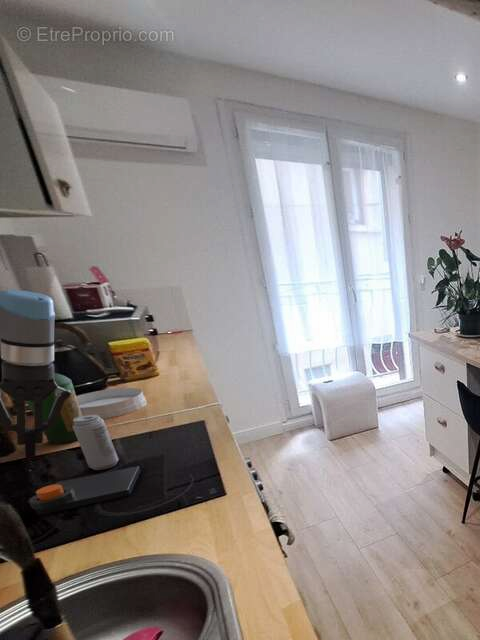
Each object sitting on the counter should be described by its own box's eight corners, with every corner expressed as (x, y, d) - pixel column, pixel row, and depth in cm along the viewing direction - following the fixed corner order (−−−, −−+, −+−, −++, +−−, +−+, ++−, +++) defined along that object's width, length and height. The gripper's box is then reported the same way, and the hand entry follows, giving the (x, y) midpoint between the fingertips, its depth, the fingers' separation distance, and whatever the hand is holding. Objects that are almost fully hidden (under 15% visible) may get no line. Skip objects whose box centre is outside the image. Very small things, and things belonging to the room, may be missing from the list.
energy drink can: (101, 461, 119) (82, 414, 114) (125, 460, 120) (107, 413, 115) (84, 471, 114) (63, 422, 108) (109, 470, 115) (90, 421, 109)
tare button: (36, 502, 95) (32, 495, 94) (43, 494, 98) (39, 487, 97) (61, 497, 97) (57, 490, 96) (66, 489, 100) (63, 482, 99)
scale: (30, 519, 94) (23, 506, 93) (53, 488, 106) (48, 477, 105) (129, 497, 103) (124, 485, 102) (140, 471, 115) (136, 460, 113)
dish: (137, 414, 151) (133, 402, 150) (53, 425, 141) (47, 412, 139) (153, 396, 169) (149, 384, 168) (79, 404, 159) (74, 392, 157)
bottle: (96, 437, 133) (63, 354, 124) (48, 449, 125) (8, 361, 115) (88, 429, 139) (56, 348, 129) (41, 440, 131) (3, 355, 121)
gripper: (70, 358, 100) (70, 446, 105) (-19, 354, 89) (-15, 452, 95) (73, 367, 95) (72, 459, 100) (-21, 364, 85) (-17, 466, 90)
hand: (30, 455), depth 97 cm, fingers closed
